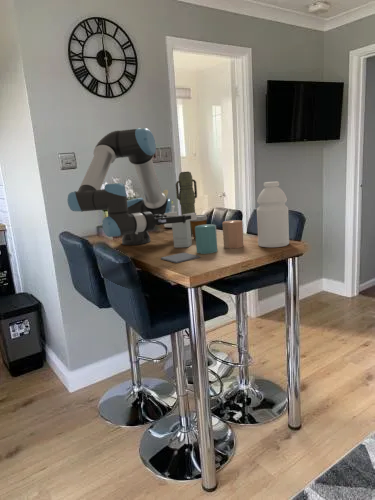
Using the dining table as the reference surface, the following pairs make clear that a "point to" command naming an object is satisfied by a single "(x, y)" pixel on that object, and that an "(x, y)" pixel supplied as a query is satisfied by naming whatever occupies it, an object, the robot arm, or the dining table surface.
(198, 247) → the teal cup
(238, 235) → the terracotta cup
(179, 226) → the supplement box
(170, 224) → the flower in vase
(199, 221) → the disposable coffee cup
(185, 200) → the thermos
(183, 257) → the coaster
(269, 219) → the bottle
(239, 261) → the dining table surface
